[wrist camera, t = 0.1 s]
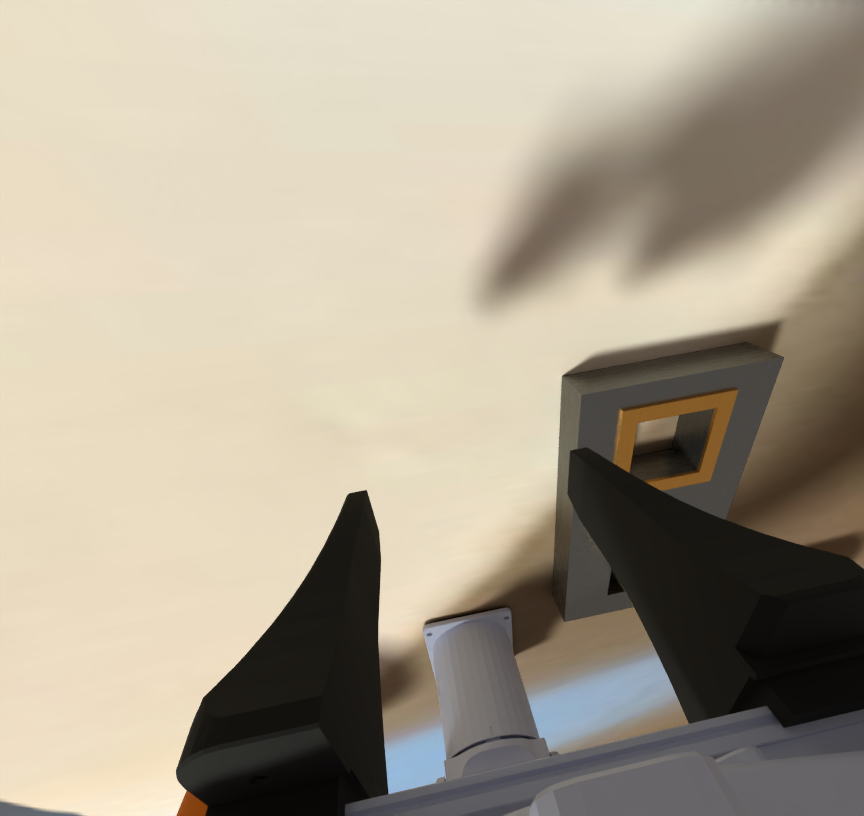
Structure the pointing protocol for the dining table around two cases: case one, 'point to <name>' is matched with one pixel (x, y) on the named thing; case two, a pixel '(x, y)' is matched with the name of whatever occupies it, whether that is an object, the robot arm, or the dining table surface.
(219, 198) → the dining table surface
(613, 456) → the hole plate
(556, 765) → the robot arm
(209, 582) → the dining table surface
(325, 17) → the dining table surface
